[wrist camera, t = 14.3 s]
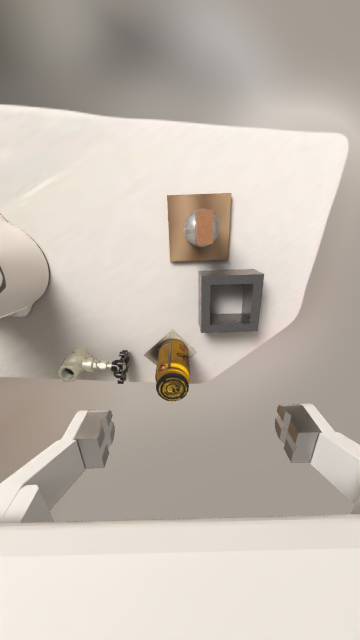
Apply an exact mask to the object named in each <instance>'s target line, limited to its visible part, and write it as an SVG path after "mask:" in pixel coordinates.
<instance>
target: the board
mask: <svg viewBox="0 0 360 640" xmlns="http://www.w3.org/2000/svg"><path fill="white" fill-rule="evenodd" d="M167 201H168V222H169V243H170V261H198V260H227V259H228V248H229V229H230V209H231V193H222V194H194V195H167ZM198 209H214V214H215V215H216V217H217V218H218V221H219V233H218V236H217V238H216V239H215V240H214V242H213V244H210V245H208V246H204V247H198V246H195V245H193V244H192V243H190V242H189V241H188V240H187V239H186V237H185V235H184V224H185V221H186V219H187V218H188V216H189V215H190V214H191V213H192V212H193V211H195V210H198Z"/></svg>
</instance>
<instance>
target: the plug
mask: <svg viewBox="0 0 360 640" xmlns="http://www.w3.org/2000/svg"><path fill="white" fill-rule="evenodd" d="M218 233H219V221H218V218H217V217H216V215H215V214H214V209H198V210H195V211H193V212H192V213H191V214H190V215H189V216H188V218H187V219H186V221H185V224H184V235H185V237H186V239H187V240H188V241H189V242H190V243H192V244H193V245H195V246H198V247H204V246H208V245H210V244H213V242H214V240H215V239H216V238H217V236H218Z"/></svg>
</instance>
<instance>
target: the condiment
mask: <svg viewBox="0 0 360 640" xmlns="http://www.w3.org/2000/svg"><path fill="white" fill-rule="evenodd" d="M158 349H159V350H158ZM195 353H196V351H195V350H194V349H193V348H191V346H189V345H188V344H187V343H186V342H185V341H184V340H183V339H182V338H181V337H180V336H179V335H177V334H176V333H175V332H174V331H173V330H172V331H171V332H169V333H168V334H167V335H166V336H165V337H164V338H162V339H161V340H160V341H159V342H158V343H157V344H156V345H155V346H154V347H153V348H151V349H150V350H149V351H148V352H147V353H146V354H145V355H144V356H145V357H147V358H148V359H149V360H151V361H152V362H153V363H154V364H156V365H157V368H156V375H155V378H156V382H157V384H156V390H157V392H158V394H159V396H160V397H162V398H163V399H165V400H167V401H177V400H180V399H182V398H184V397H185V396H186V394H187V392H188V387H189V385H188V383H189V380H190V370H189V358H190V357H191V356H192V355H194V354H195Z"/></svg>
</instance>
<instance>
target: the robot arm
mask: <svg viewBox="0 0 360 640" xmlns="http://www.w3.org/2000/svg"><path fill="white" fill-rule="evenodd" d="M48 281H49V270H48V265H47V262H46V259H45V257H44V255H43V253H42V251H41V250H40V248H39V247H38V245H37V244H36V243H35V242H34V241H33V240H32V239H31V238H30V237H29V236H28V235H27V234H26V233H24V232H23V231H21V230H20V229H18V228H16V227H14V226H13V225H11V224H10V223H8V222H7V221H6V220H5V219H4V218H3V217H2V216H1V214H0V318H3V317H5V316H15V317H24V316H27V315H28V314H29V313H30V310H31V308H32V305H33V303H34V302H35V301H37V300H38V299H39V298H40V297H41V296H42V295H43V294H44V292H45V290H46V288H47V286H48ZM277 412H278V414H279V415H278V416H277V418H276V419H275V428H276V432H277V435H278V437H279V439H280V440H281V441H282V442H283V443H285V446H284V450H285V451H286V453H287V456H288V457H289V459H290V461H291V463H311V464H312V466H314V467H315V468H316V469H317V470H318V471H319V472H320V473H321V474H322V475H323V476H324V477H326V478H327V479H328V480H329V481H330V482H331V483H332V484H333V485H334V486H335V487H337V488H338V489H339V490H340V491H341V492H342V493H343V494H344V495H345V496H346V497H347V498H348V499H350V500H351V501H352V502H353V503H354V504H355V506H354V508H353V510H352V512H351V514H343V515H307V516H306V515H304V516H266V517H229V518H228V517H227V518H189V519H153V520H114V521H73V522H54V521H53V519H52V516H51V514H50V512H49V511H50V510H51V508H52V507H53V506H54V505H55V504H56V503H57V502H58V500H59V499H60V498H61V497H62V496H63V495H64V493H65V492H66V491H67V490H68V489H69V488H70V487H71V486H72V484H73V483H74V482H75V481H76V480H77V479H78V478H79V477H80V475H81V474H82V473H83V472H84V471H85V469H89V468H104V467H105V464H106V461H107V458H108V455H109V451H108V447H109V446H110V445H111V444H112V442H113V439H114V431H115V430H114V423H113V422H112V421H111V418H112V413H111V411H110V410H79V411H78V412H77V413H76V415H75V416H74V418H73V420H72V421H71V423H70V425H69V427H68V428H67V430H66V432H65V434H64V436H63V437H62V439H61V440H57V441H56V442H55V443H53V444H52V445H51V446H50V447H48V448H47V449H46V450H44V451H43V452H41V453H40V454H39V455H38V456H36V457H35V458H33V459H32V460H31V461H29V462H28V463H27V464H26V465H24V466H23V467H22V468H20V469H19V470H18V471H16V472H15V473H14V474H12V475H11V476H10V477H8V478H7V479H6V480H4V481H3V482H2V483H0V640H360V445H358V444H357V443H355V442H354V441H352V440H350V439H349V438H347V437H345V436H344V435H342V434H340V433H339V432H334V430H333V429H332V428H331V426H330V425H329V424H328V423H327V422H326V420H325V419H324V418H323V417H322V416H321V414H320V413H319V412H318V410H317V409H316V408H315V407H314V405H312V404H292V405H279V406H278V409H277Z"/></svg>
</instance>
